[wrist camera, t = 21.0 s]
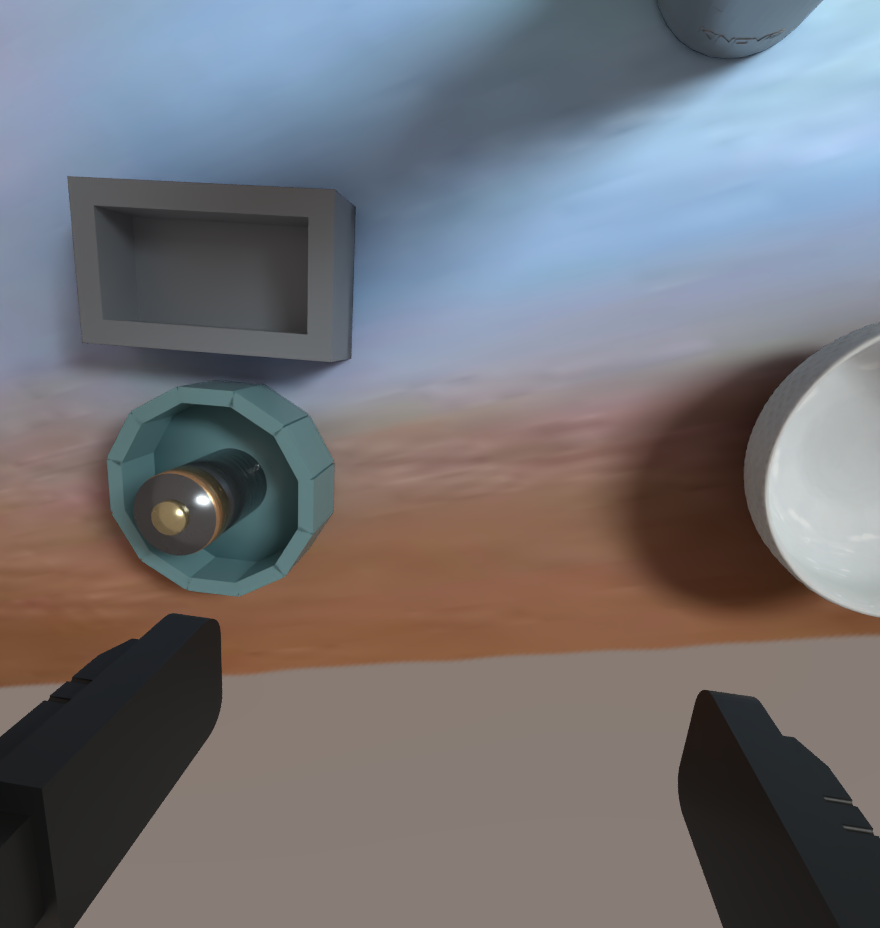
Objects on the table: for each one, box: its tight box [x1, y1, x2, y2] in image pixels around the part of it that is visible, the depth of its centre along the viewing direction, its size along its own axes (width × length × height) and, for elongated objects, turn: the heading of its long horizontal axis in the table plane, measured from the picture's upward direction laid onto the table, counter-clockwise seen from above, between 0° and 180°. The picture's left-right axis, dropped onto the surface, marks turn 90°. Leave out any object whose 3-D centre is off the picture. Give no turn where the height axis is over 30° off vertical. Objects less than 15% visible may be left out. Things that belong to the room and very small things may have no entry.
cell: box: [133, 448, 267, 556], centre depth 35 cm, size 5×5×8 cm
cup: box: [107, 380, 334, 596], centre depth 38 cm, size 14×14×4 cm
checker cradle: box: [67, 176, 356, 362], centre depth 35 cm, size 10×16×4 cm, turn 86°
